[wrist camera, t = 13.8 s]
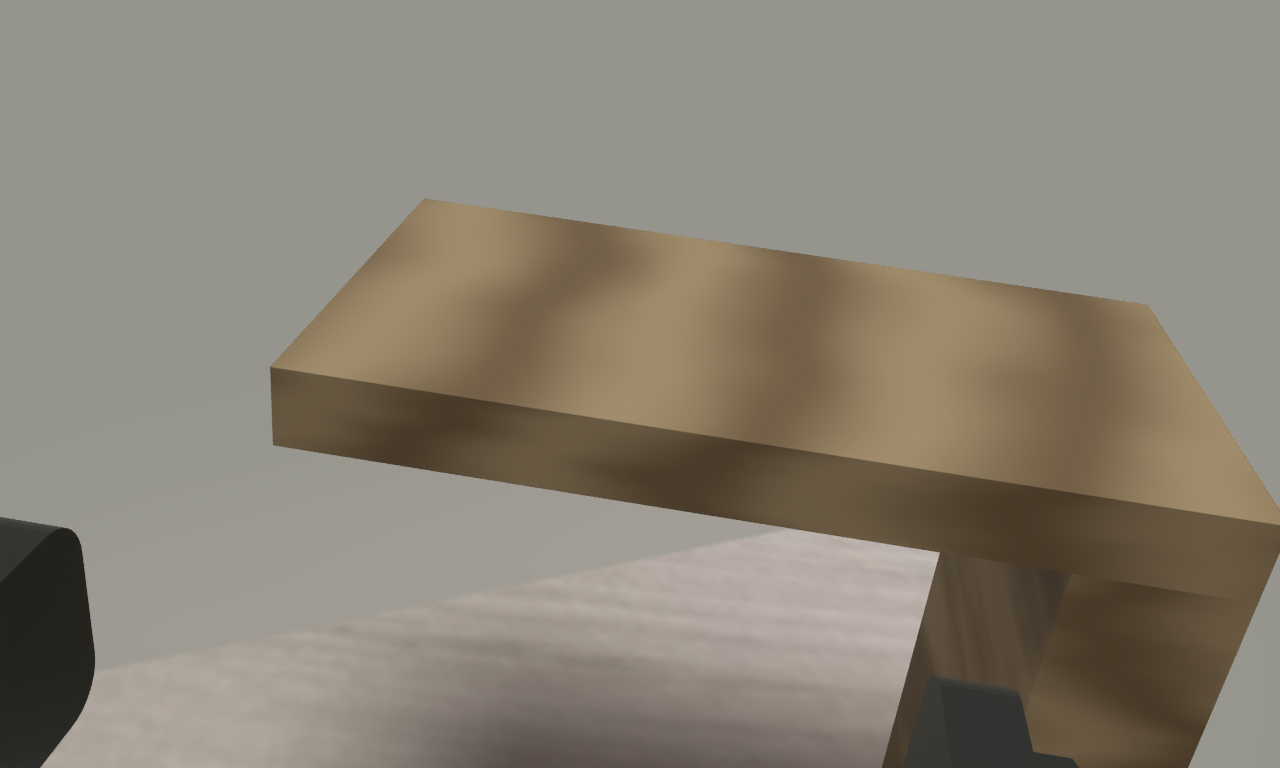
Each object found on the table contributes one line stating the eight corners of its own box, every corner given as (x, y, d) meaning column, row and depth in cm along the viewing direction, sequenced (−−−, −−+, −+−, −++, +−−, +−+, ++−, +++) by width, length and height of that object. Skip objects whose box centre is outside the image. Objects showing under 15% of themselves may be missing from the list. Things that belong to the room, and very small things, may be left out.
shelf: (292, 991, 36) (270, 367, 27) (409, 715, 47) (424, 198, 37) (1032, 1131, 35) (1291, 526, 25) (980, 814, 46) (1147, 304, 36)
